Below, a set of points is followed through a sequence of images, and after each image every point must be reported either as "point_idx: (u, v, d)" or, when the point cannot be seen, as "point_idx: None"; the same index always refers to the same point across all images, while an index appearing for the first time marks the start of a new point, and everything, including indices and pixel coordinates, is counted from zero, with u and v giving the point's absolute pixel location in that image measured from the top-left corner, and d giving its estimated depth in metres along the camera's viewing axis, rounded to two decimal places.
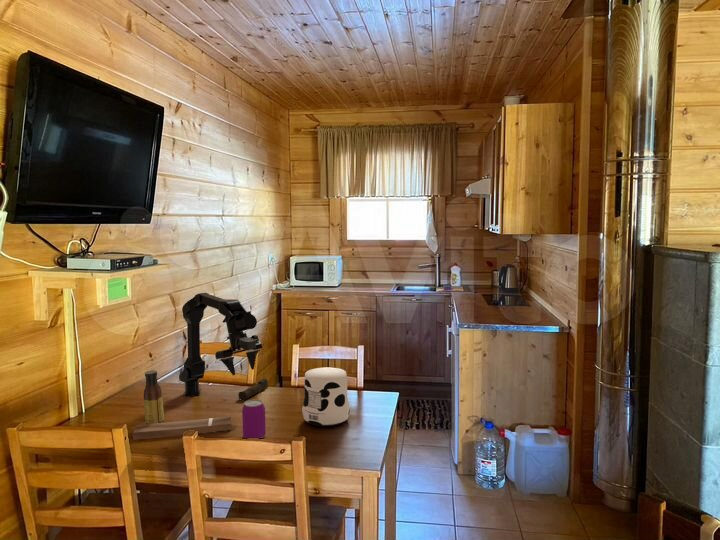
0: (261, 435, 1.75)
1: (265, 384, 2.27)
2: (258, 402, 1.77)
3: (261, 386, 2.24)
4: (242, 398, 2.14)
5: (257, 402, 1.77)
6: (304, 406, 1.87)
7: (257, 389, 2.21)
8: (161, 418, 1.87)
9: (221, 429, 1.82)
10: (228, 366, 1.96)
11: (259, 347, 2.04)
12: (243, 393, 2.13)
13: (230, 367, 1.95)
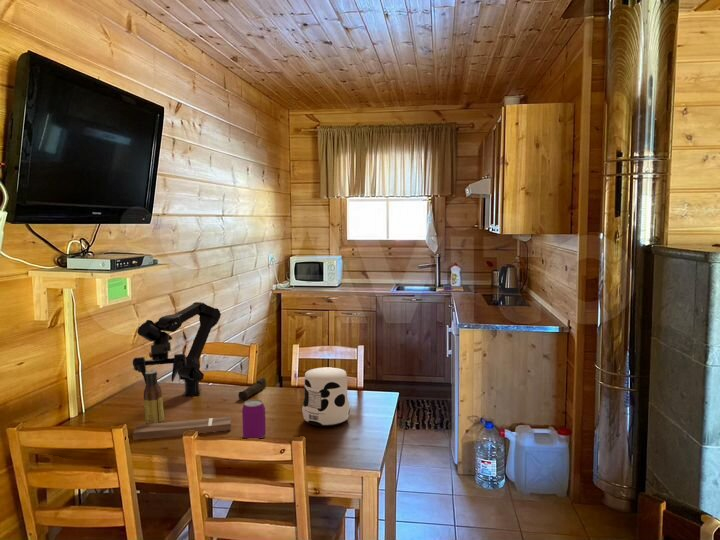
0: (261, 435, 1.75)
1: (264, 384, 2.27)
2: (258, 402, 1.77)
3: (260, 386, 2.24)
4: (242, 398, 2.13)
5: (257, 402, 1.77)
6: (304, 406, 1.87)
7: (256, 389, 2.21)
8: (161, 418, 1.87)
9: (221, 429, 1.82)
10: None
11: (179, 357, 1.99)
12: (243, 393, 2.13)
13: (143, 375, 1.95)
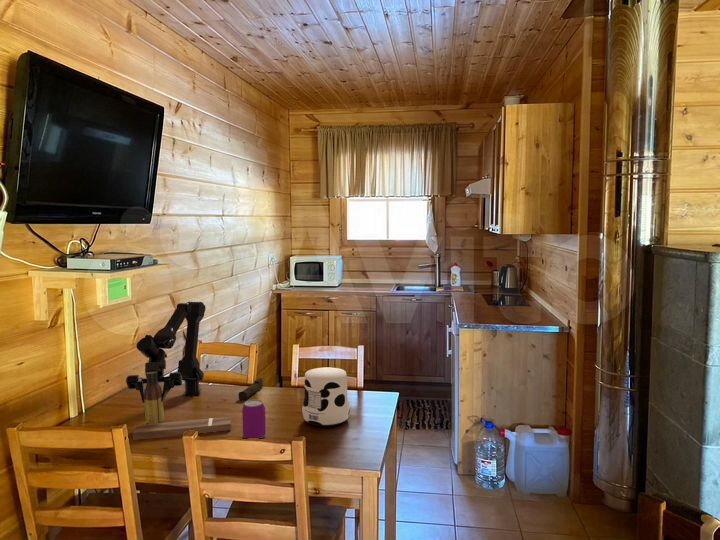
0: (261, 435, 1.75)
1: (261, 383, 2.28)
2: (258, 402, 1.77)
3: (258, 385, 2.25)
4: (243, 398, 2.13)
5: (257, 402, 1.77)
6: (304, 406, 1.87)
7: (255, 389, 2.22)
8: (161, 418, 1.87)
9: (221, 429, 1.82)
10: None
11: (174, 376, 1.90)
12: (244, 393, 2.13)
13: None
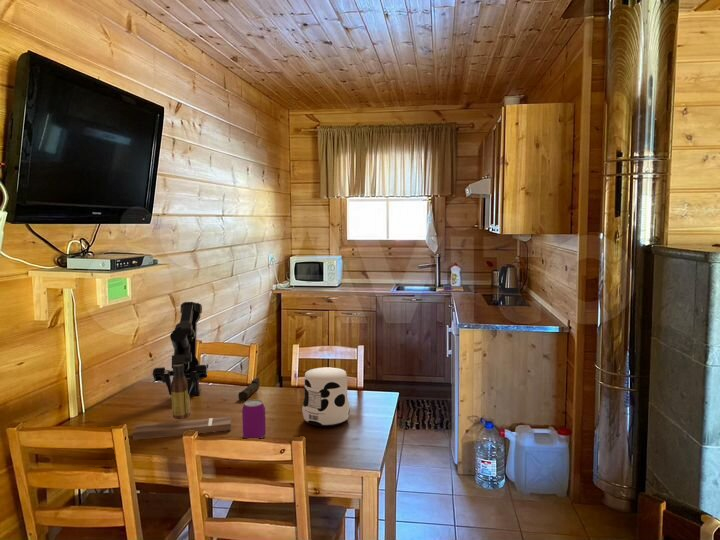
0: (261, 435, 1.75)
1: (258, 383, 2.28)
2: (258, 402, 1.77)
3: (256, 385, 2.25)
4: (243, 398, 2.13)
5: (257, 402, 1.77)
6: (304, 406, 1.87)
7: (253, 388, 2.22)
8: (188, 410, 1.89)
9: (221, 429, 1.82)
10: None
11: (200, 369, 1.92)
12: (244, 393, 2.13)
13: (167, 386, 1.89)
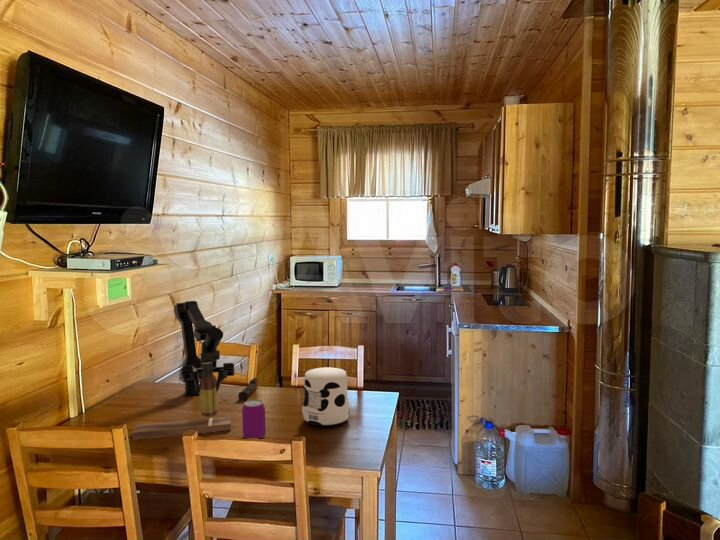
0: (261, 435, 1.75)
1: (256, 383, 2.28)
2: (258, 402, 1.77)
3: (254, 385, 2.25)
4: (243, 398, 2.13)
5: (257, 402, 1.77)
6: (304, 406, 1.87)
7: (252, 388, 2.22)
8: (216, 407, 1.91)
9: (221, 429, 1.82)
10: (196, 384, 1.92)
11: (228, 366, 1.94)
12: (244, 393, 2.13)
13: (196, 384, 1.91)
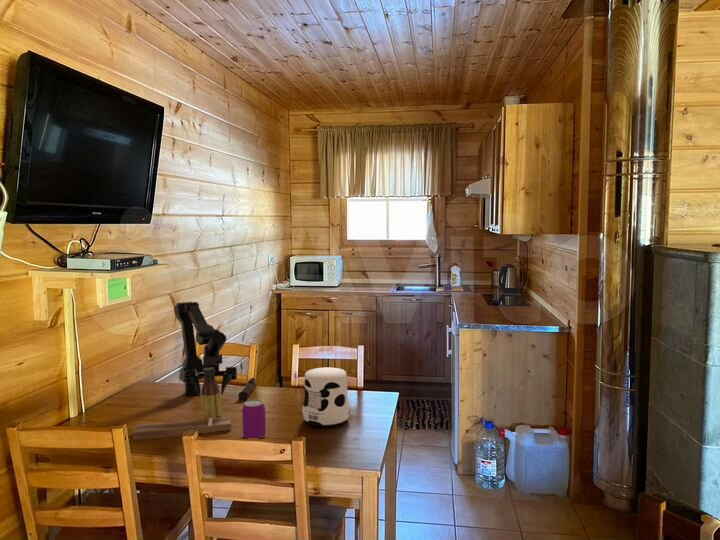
0: (261, 435, 1.75)
1: (254, 383, 2.29)
2: (258, 402, 1.77)
3: (253, 385, 2.25)
4: (243, 398, 2.13)
5: (257, 402, 1.77)
6: (304, 406, 1.87)
7: (251, 388, 2.22)
8: (218, 413, 1.92)
9: (221, 429, 1.82)
10: (197, 388, 1.92)
11: (231, 370, 1.95)
12: (244, 393, 2.13)
13: (196, 388, 1.91)
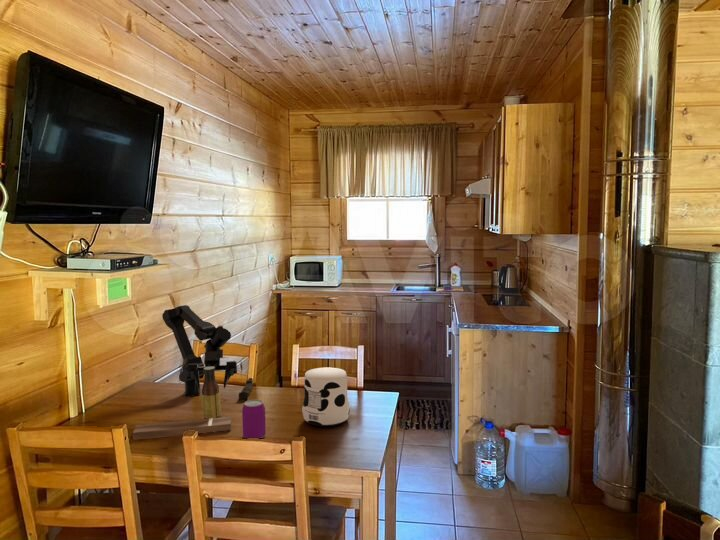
0: (261, 435, 1.75)
1: (252, 383, 2.29)
2: (258, 402, 1.77)
3: (251, 385, 2.25)
4: (243, 398, 2.13)
5: (257, 402, 1.77)
6: (304, 406, 1.87)
7: (250, 388, 2.22)
8: (218, 413, 1.92)
9: (221, 429, 1.82)
10: (196, 381, 2.00)
11: (231, 365, 2.03)
12: (245, 393, 2.13)
13: (196, 381, 1.99)
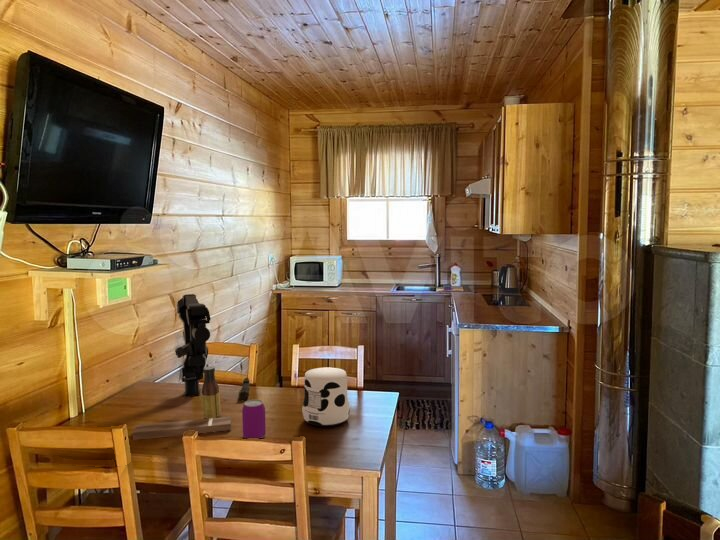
0: (261, 435, 1.75)
1: None
2: (258, 402, 1.77)
3: (248, 385, 2.25)
4: (244, 398, 2.13)
5: (257, 402, 1.77)
6: (304, 406, 1.87)
7: (248, 388, 2.22)
8: (218, 413, 1.92)
9: (221, 429, 1.82)
10: None
11: None
12: (245, 393, 2.13)
13: None
